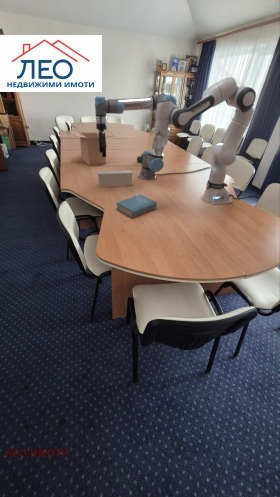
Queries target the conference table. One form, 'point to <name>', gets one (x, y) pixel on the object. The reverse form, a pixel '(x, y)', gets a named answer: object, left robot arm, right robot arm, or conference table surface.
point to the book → (136, 205)
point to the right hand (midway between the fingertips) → (158, 154)
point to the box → (91, 147)
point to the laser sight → (139, 159)
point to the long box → (115, 178)
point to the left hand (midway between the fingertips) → (102, 154)
